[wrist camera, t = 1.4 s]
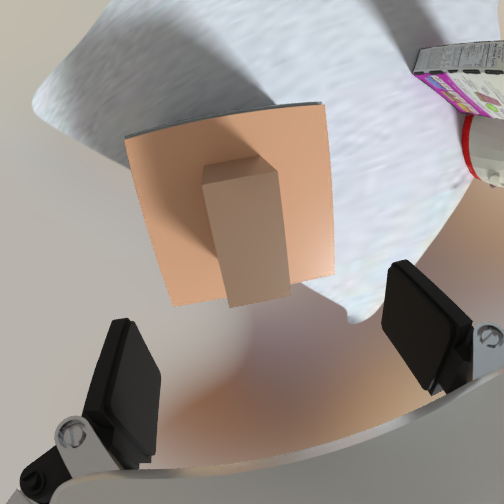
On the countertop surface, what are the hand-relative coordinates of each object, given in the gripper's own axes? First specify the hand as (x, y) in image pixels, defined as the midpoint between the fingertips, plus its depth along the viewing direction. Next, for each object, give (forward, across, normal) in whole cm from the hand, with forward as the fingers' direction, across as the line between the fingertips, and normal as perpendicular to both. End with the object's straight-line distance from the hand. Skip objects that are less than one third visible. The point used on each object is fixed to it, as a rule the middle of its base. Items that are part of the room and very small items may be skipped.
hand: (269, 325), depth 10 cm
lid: (+13, 0, -1) cm, 13 cm away
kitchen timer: (+26, -43, -2) cm, 50 cm away
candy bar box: (+25, -32, -11) cm, 42 cm away
